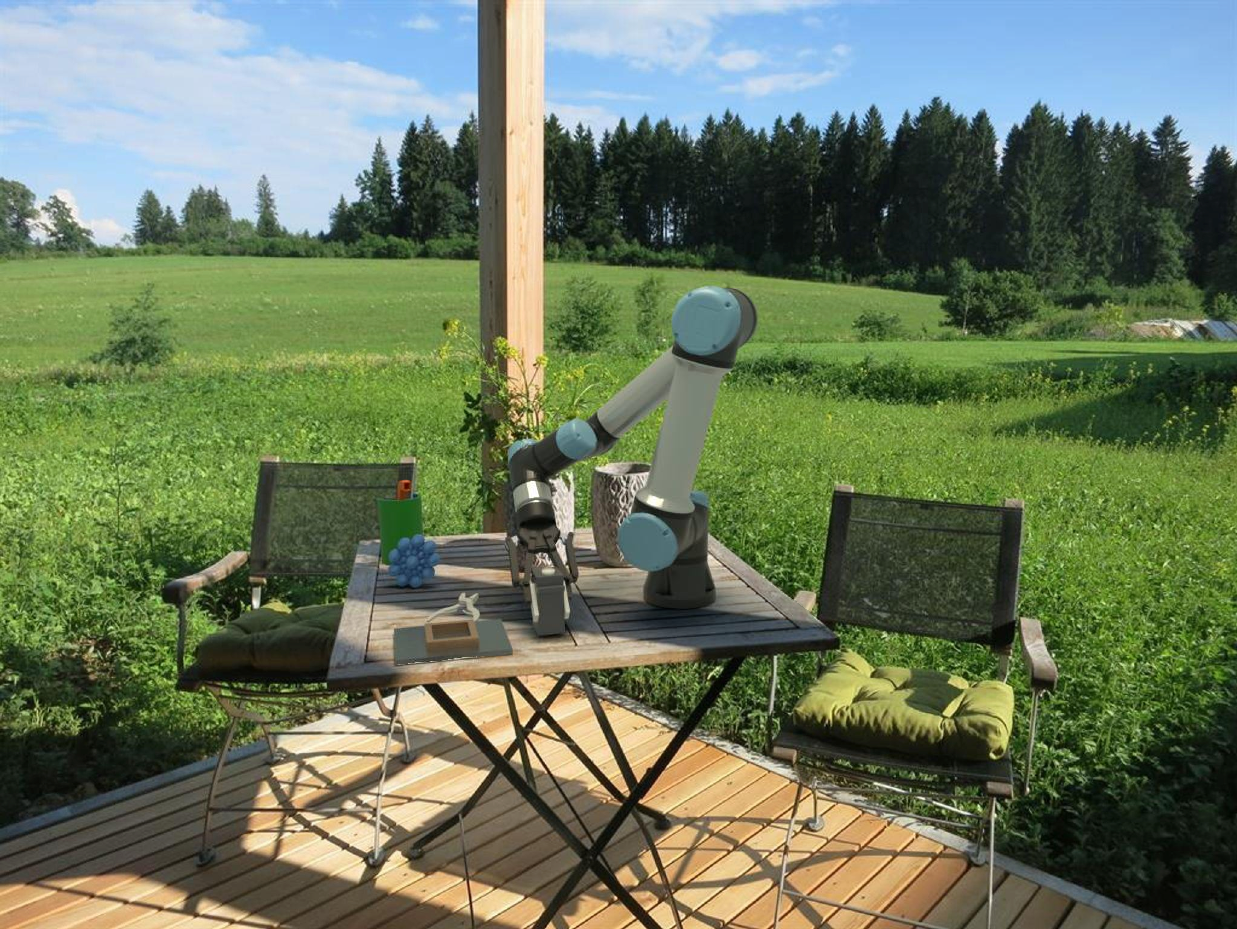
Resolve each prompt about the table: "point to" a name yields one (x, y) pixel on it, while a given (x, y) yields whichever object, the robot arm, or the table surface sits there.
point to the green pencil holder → (399, 519)
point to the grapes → (413, 561)
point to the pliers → (462, 603)
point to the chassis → (451, 641)
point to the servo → (549, 600)
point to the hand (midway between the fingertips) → (551, 616)
